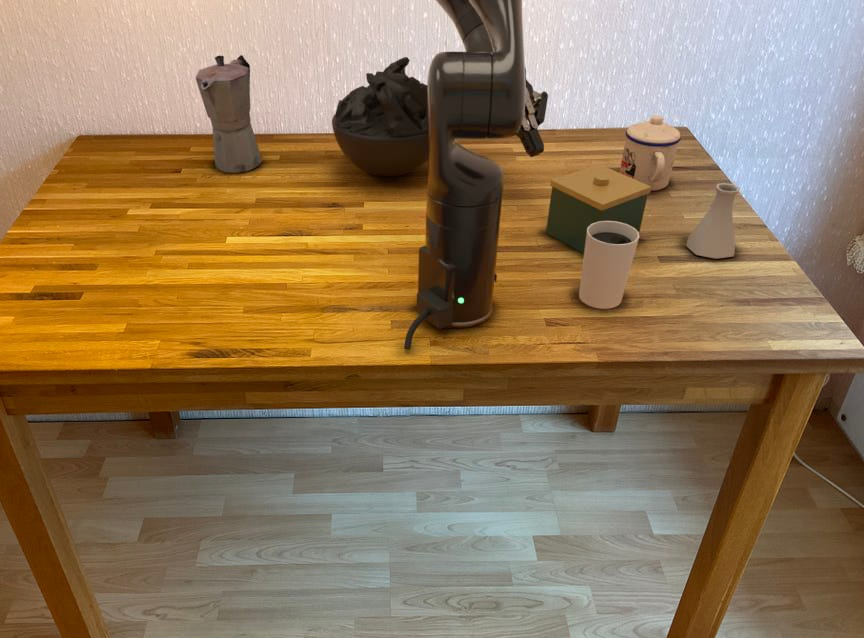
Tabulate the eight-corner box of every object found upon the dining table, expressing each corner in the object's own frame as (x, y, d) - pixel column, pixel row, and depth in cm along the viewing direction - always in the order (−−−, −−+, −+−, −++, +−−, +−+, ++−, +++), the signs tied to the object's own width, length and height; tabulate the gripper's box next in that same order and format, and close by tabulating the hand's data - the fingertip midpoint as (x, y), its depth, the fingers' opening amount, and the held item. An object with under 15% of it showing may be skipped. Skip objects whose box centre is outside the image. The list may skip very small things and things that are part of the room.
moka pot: (196, 176, 136) (176, 64, 124) (233, 145, 147) (219, 40, 135) (243, 182, 134) (228, 68, 121) (277, 150, 145) (266, 43, 133)
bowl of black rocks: (380, 205, 125) (379, 94, 114) (313, 169, 138) (305, 65, 126) (465, 174, 135) (471, 68, 124) (395, 143, 148) (395, 44, 136)
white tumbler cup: (606, 280, 106) (619, 217, 99) (634, 304, 101) (650, 239, 94) (566, 290, 104) (576, 226, 98) (593, 314, 99) (606, 249, 93)
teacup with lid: (611, 171, 136) (623, 107, 129) (661, 171, 135) (676, 107, 128) (627, 199, 126) (641, 133, 119) (680, 199, 126) (697, 133, 119)
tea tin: (592, 259, 110) (604, 198, 104) (543, 232, 117) (551, 173, 111) (639, 240, 115) (653, 180, 109) (589, 215, 122) (600, 157, 116)
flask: (728, 237, 115) (746, 177, 109) (741, 261, 109) (761, 199, 103) (680, 236, 116) (696, 176, 110) (690, 259, 110) (708, 197, 104)
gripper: (474, 51, 114) (520, 152, 113) (537, 37, 119) (581, 134, 119) (451, 77, 120) (494, 173, 120) (512, 63, 126) (553, 155, 126)
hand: (537, 153), depth 119 cm, fingers closed
